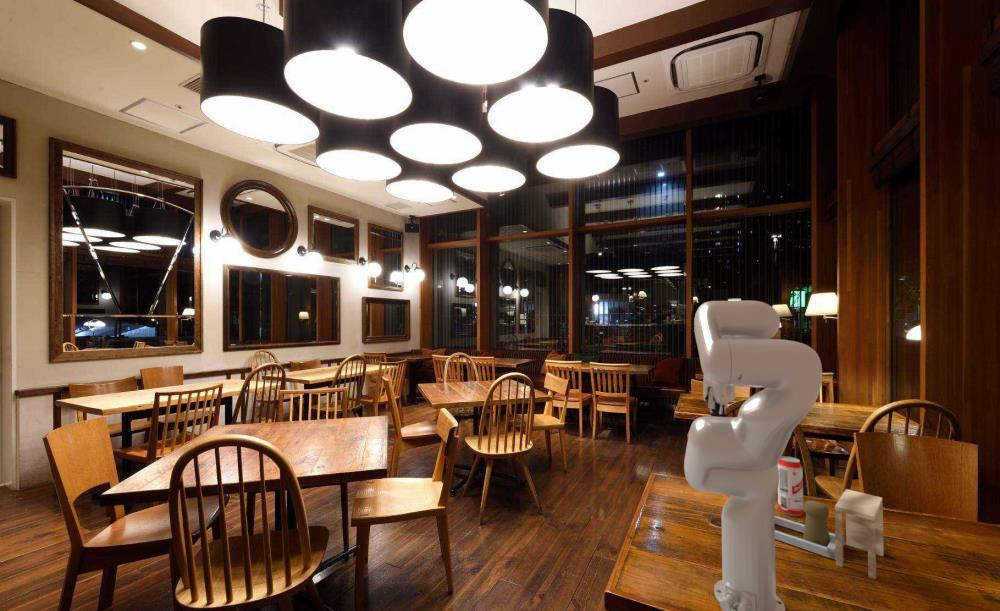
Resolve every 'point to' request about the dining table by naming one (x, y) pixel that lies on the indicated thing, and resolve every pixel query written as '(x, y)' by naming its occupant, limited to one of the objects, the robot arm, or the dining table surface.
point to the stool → (860, 526)
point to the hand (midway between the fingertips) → (718, 427)
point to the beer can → (790, 486)
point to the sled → (825, 551)
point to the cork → (816, 523)
